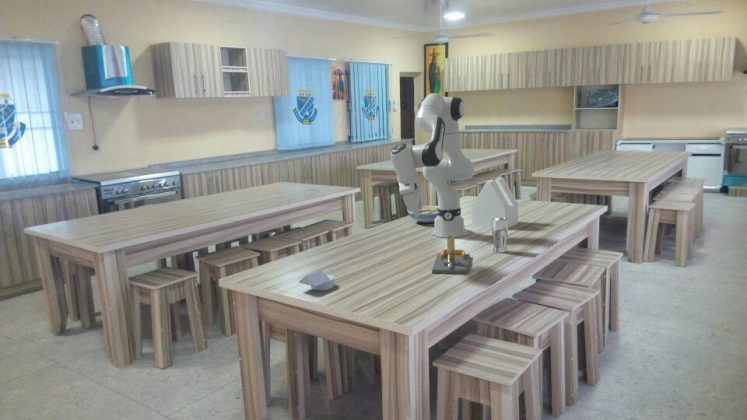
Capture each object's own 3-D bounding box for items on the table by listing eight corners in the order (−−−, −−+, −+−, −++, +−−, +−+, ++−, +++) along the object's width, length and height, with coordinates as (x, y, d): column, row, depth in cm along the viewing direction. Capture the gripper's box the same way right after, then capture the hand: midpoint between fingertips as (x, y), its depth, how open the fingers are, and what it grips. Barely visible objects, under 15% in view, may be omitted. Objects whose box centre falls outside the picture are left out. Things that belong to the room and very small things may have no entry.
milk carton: (517, 224, 299) (518, 178, 294) (504, 229, 287) (504, 182, 282) (486, 220, 311) (486, 176, 306) (472, 225, 299) (472, 180, 295)
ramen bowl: (445, 227, 299) (445, 212, 297) (404, 227, 303) (403, 212, 302) (448, 217, 323) (448, 203, 321) (410, 217, 327) (409, 204, 326)
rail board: (437, 256, 243) (437, 249, 243) (469, 257, 240) (469, 249, 239) (432, 273, 220) (431, 264, 220) (467, 274, 217) (467, 265, 217)
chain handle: (444, 260, 230) (443, 235, 228) (458, 261, 229) (458, 235, 227) (441, 269, 219) (441, 242, 217) (457, 269, 218) (456, 242, 216)
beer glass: (496, 254, 243) (496, 221, 240) (489, 250, 249) (489, 218, 246) (510, 252, 245) (510, 219, 242) (503, 248, 251) (503, 216, 248)
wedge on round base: (315, 295, 201) (339, 285, 211) (314, 277, 200) (338, 268, 210) (298, 290, 207) (322, 281, 217) (297, 273, 205) (321, 265, 215)
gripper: (405, 176, 238) (414, 204, 243) (398, 192, 220) (408, 223, 224) (419, 172, 237) (428, 201, 241) (413, 189, 218) (423, 220, 223)
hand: (418, 212), depth 233 cm, fingers open, 8 cm apart
